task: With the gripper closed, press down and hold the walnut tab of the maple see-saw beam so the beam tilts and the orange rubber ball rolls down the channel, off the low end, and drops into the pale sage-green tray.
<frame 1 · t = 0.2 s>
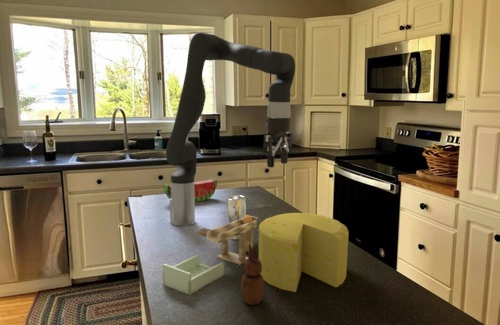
hand: (277, 165, 132), 29 cm above the table, tool pointing down, fingers open, 8 cm apart
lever: (225, 226, 129), point 10 cm above the table, hinge at -1.5°, touching ball
tray: (194, 279, 114), on the table
wooden figurine: (252, 301, 103), on the table
ball: (247, 220, 133), point 11 cm above the table, tilted 9°, touching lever
fruit slice: (191, 202, 194), on the table
beer glass: (236, 237, 148), on the table
fulcrum: (233, 258, 129), on the table
cheese: (301, 272, 120), on the table
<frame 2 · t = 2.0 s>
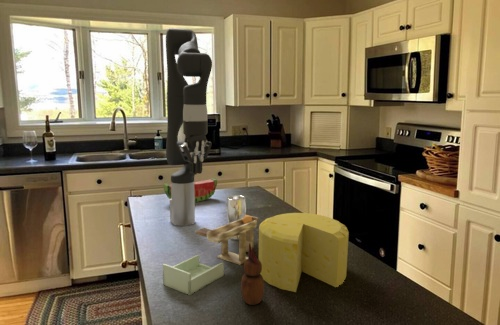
hand: (196, 173, 127), 27 cm above the table, tool pointing down, fingers closed
nothing on the table moved.
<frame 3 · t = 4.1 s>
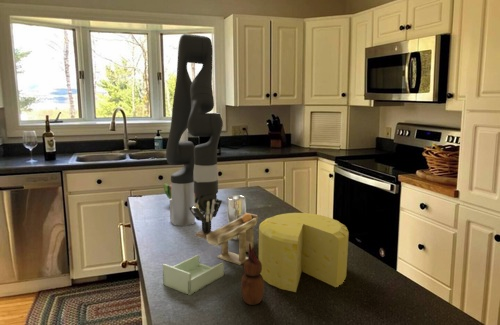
hand: (206, 231, 126), 9 cm above the table, tool pointing down, fingers closed
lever: (225, 226, 128), point 10 cm above the table, hinge at 3.7°, touching ball, gripper
ball: (247, 218, 132), point 12 cm above the table, touching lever
everything else where it was.
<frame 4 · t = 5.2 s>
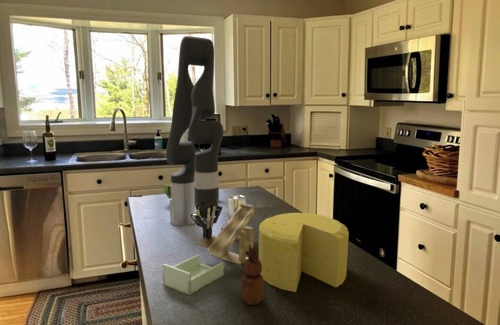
hand: (207, 238, 127), 7 cm above the table, tool pointing down, fingers closed
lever: (224, 227, 128), point 10 cm above the table, hinge at 30.2°, touching gripper
ball: (182, 279, 110), point 2 cm above the table, tilted 104°, touching tray
everything else where it was.
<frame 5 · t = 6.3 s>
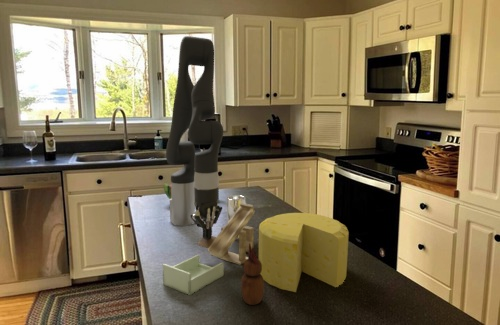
hand: (207, 238, 127), 7 cm above the table, tool pointing down, fingers closed
ball: (183, 278, 110), point 2 cm above the table, tilted 85°, touching tray
everything else where it was.
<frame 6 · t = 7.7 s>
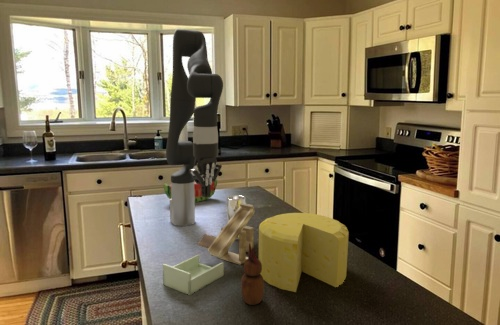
hand: (206, 196, 124), 21 cm above the table, tool pointing down, fingers closed
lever: (224, 227, 128), point 10 cm above the table, hinge at 30.5°
ball: (185, 277, 111), point 2 cm above the table, tilted 61°, touching tray
everything else where it was.
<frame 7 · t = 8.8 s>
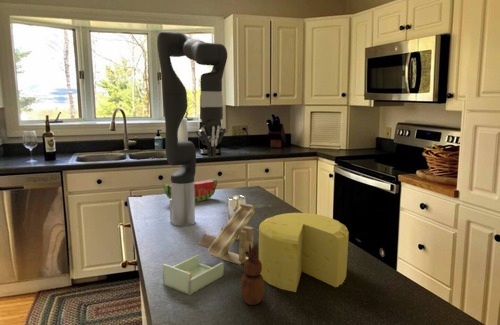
hand: (211, 156, 136), 31 cm above the table, tool pointing down, fingers closed
ball: (186, 277, 111), point 2 cm above the table, tilted 42°, touching tray
everything else where it was.
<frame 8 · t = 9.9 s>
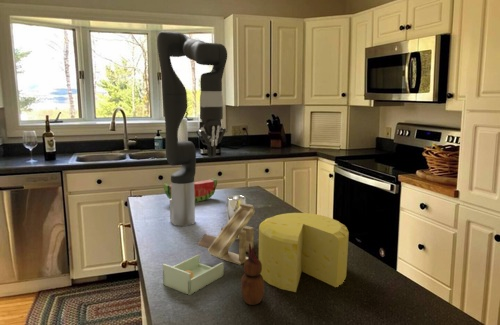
hand: (211, 156, 136), 31 cm above the table, tool pointing down, fingers closed
ball: (187, 276, 111), point 2 cm above the table, tilted 23°, touching tray
everything else where it was.
at the end: ball inside the target area on the tray (2.5 cm from its centre), point 2.1 cm above the tray's base; ball touching tray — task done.
